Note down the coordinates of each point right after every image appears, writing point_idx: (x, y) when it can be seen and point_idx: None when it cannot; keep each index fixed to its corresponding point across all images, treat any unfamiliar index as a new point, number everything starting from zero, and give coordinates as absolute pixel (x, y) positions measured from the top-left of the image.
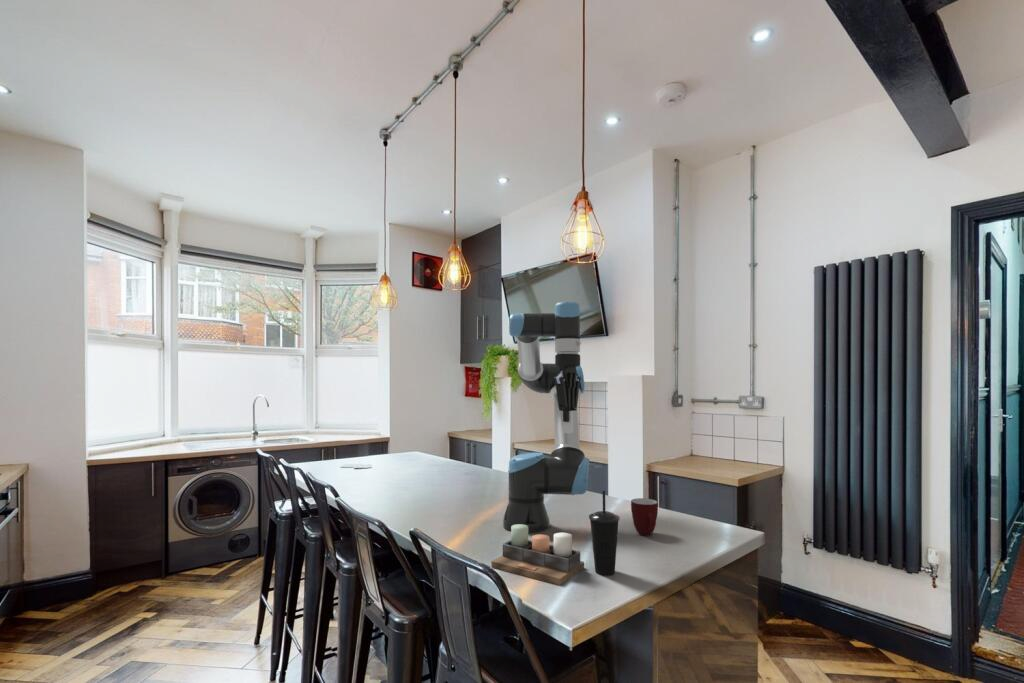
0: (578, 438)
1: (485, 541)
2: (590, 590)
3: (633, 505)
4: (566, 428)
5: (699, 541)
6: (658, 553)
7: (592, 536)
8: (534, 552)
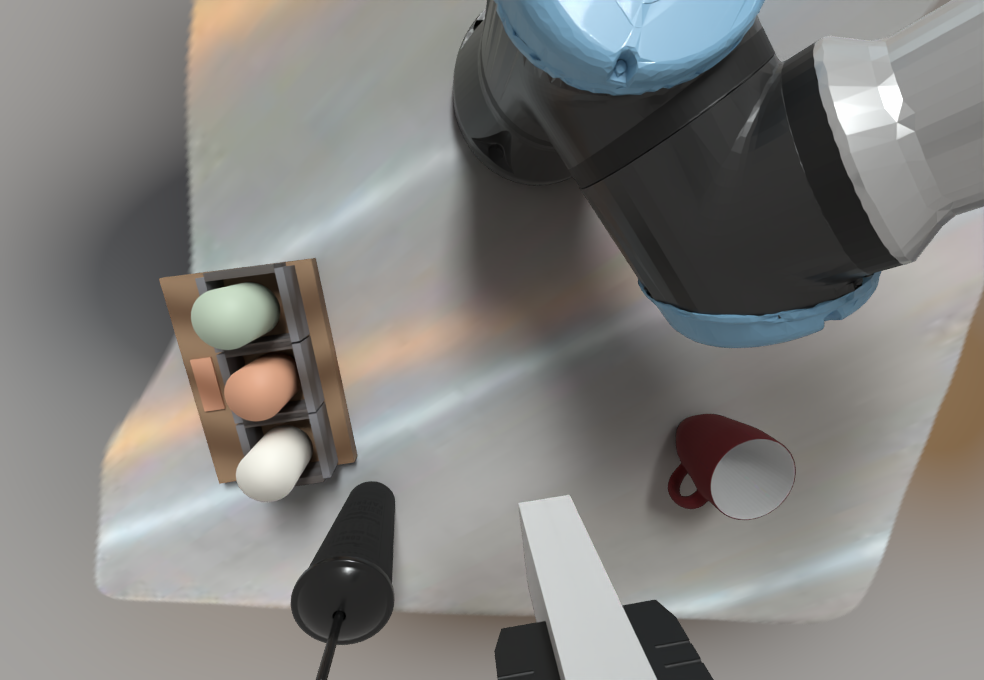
0: None
1: (310, 95)
2: (259, 534)
3: (711, 457)
4: (529, 573)
5: (714, 552)
6: None
7: (323, 542)
8: None
